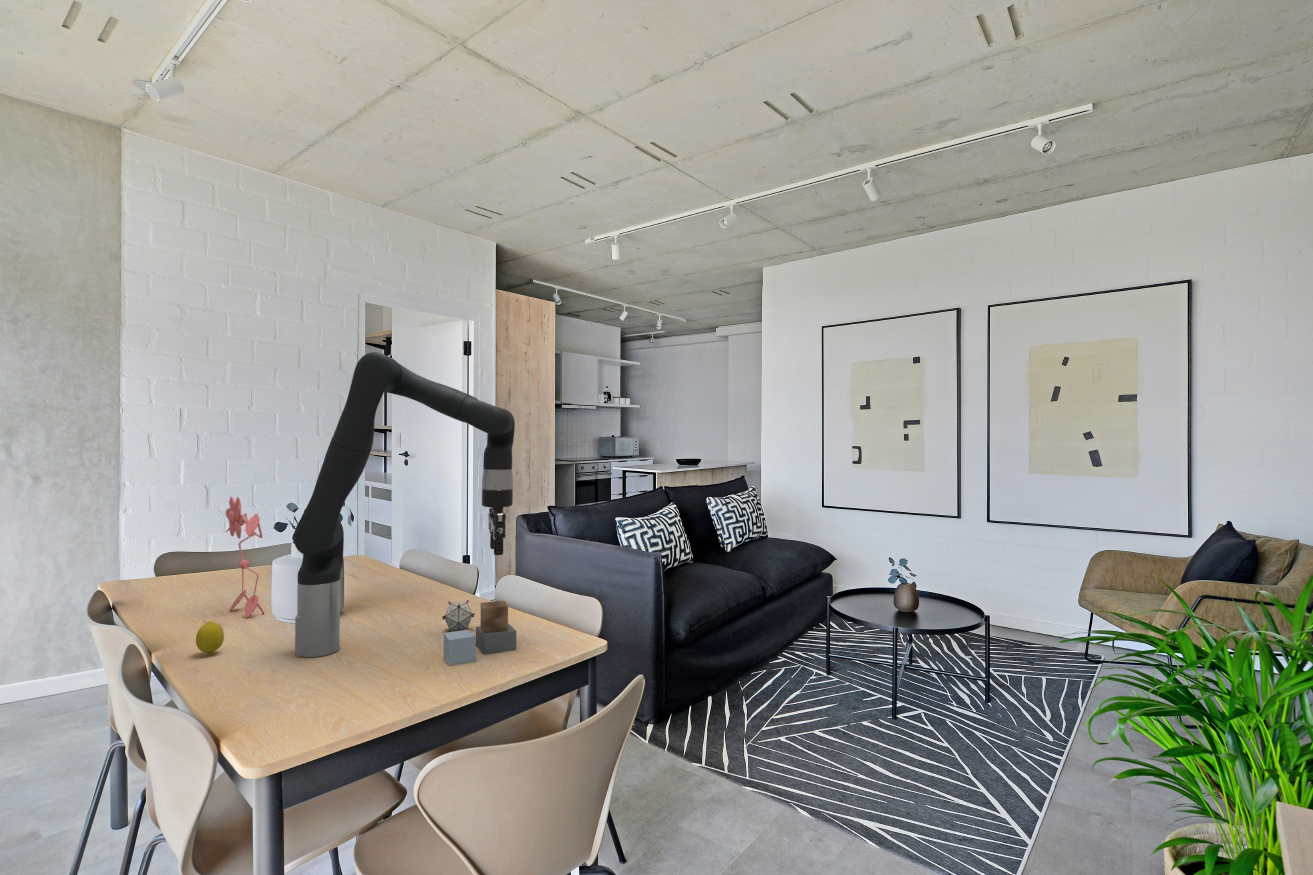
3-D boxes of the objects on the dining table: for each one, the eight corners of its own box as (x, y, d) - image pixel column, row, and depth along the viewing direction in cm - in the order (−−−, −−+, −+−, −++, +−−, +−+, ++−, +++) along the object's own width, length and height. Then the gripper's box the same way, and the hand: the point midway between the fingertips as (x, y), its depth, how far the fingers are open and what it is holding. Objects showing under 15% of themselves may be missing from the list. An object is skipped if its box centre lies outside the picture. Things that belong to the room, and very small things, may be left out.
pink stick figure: (247, 602, 198) (245, 491, 197) (278, 618, 181) (276, 497, 180) (188, 613, 186) (186, 495, 186) (214, 632, 169) (212, 502, 169)
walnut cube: (482, 633, 154) (483, 608, 154) (480, 626, 160) (480, 602, 160) (507, 630, 156) (508, 606, 156) (504, 623, 162) (504, 600, 162)
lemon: (193, 659, 148) (194, 625, 148) (198, 652, 152) (198, 619, 152) (222, 656, 150) (222, 622, 150) (225, 649, 155) (225, 616, 155)
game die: (461, 646, 170) (462, 623, 164) (434, 633, 171) (434, 609, 165) (480, 622, 177) (482, 599, 171) (454, 609, 178) (455, 586, 173)
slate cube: (448, 666, 145) (449, 640, 145) (443, 658, 150) (443, 633, 150) (475, 661, 148) (475, 636, 148) (468, 653, 153) (469, 629, 153)
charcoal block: (484, 656, 152) (484, 635, 152) (475, 646, 159) (475, 626, 159) (516, 650, 156) (516, 630, 156) (506, 641, 163) (506, 622, 163)
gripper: (479, 485, 163) (478, 547, 163) (484, 489, 150) (483, 557, 150) (509, 485, 166) (508, 546, 166) (516, 489, 153) (515, 556, 153)
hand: (496, 551), depth 158 cm, fingers open, 8 cm apart
